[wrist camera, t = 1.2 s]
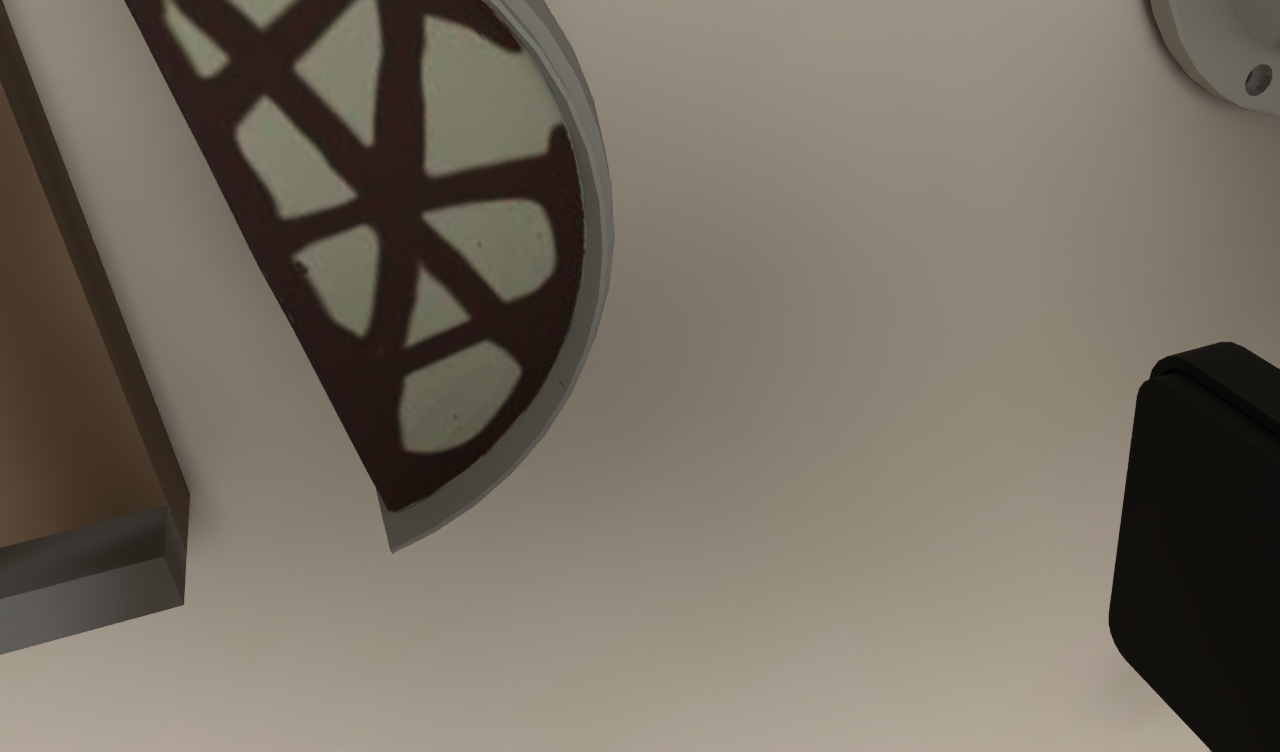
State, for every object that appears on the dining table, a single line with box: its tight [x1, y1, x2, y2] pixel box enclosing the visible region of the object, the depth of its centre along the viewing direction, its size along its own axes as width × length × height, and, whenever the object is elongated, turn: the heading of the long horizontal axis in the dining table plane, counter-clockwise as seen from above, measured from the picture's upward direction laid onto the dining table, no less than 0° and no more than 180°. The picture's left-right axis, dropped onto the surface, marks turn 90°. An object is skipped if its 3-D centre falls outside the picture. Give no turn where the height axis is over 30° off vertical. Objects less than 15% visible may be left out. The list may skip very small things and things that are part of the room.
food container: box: [124, 0, 614, 553], centre depth 22 cm, size 12×6×10 cm, turn 16°
